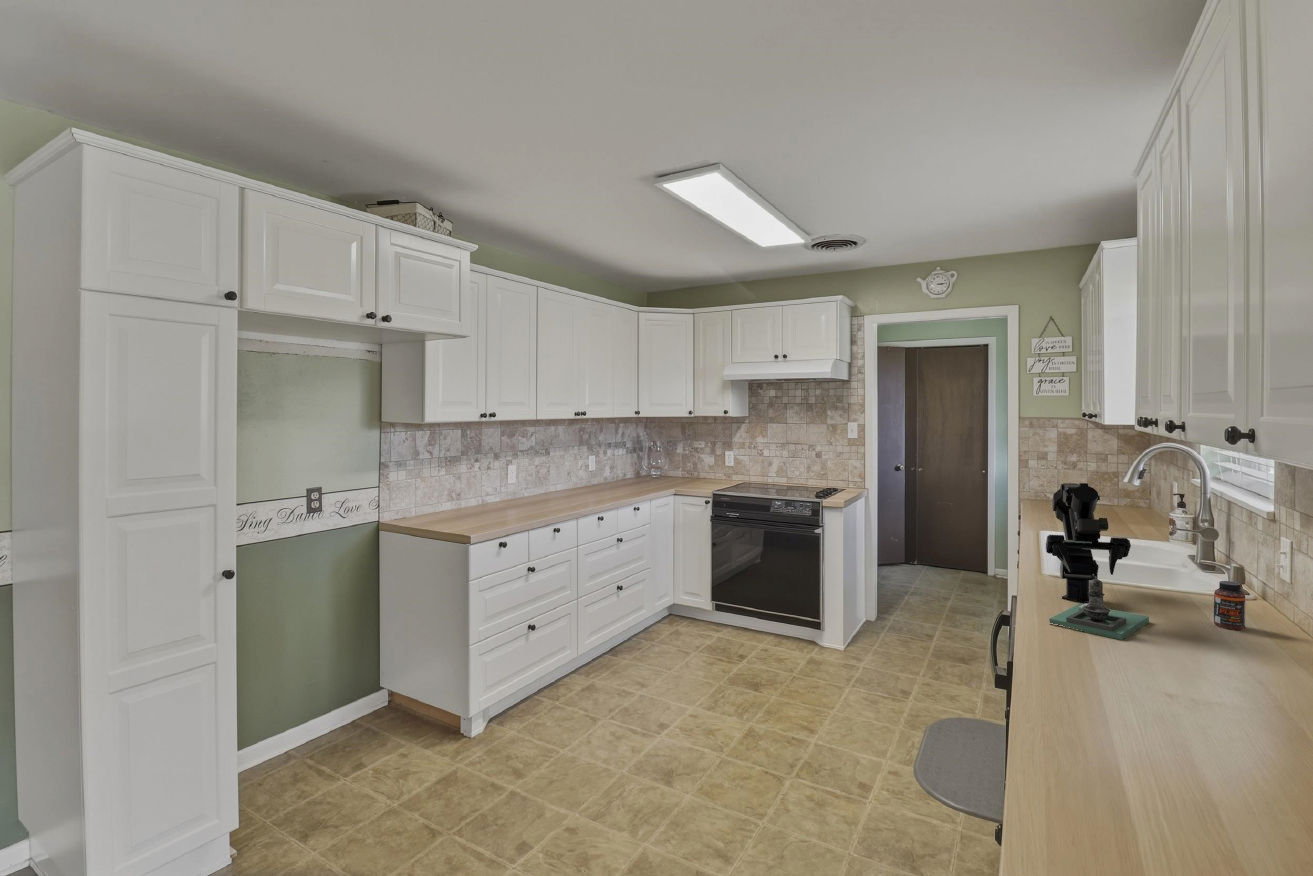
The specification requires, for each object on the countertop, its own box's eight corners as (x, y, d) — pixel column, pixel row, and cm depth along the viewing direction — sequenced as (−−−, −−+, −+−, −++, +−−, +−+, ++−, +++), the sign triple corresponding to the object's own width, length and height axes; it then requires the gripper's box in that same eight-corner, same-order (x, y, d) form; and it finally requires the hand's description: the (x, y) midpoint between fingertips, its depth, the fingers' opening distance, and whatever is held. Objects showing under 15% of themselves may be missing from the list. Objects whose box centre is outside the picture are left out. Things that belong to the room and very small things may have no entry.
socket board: (1079, 608, 180) (1079, 599, 180) (1149, 622, 168) (1148, 612, 168) (1049, 624, 168) (1049, 614, 168) (1121, 640, 156) (1121, 629, 155)
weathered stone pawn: (1108, 620, 165) (1108, 574, 165) (1111, 627, 160) (1111, 579, 160) (1081, 617, 168) (1081, 572, 168) (1083, 624, 163) (1083, 577, 163)
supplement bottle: (1217, 629, 161) (1217, 584, 161) (1210, 622, 167) (1210, 578, 166) (1249, 632, 159) (1248, 586, 158) (1240, 624, 164) (1240, 580, 163)
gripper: (1046, 505, 178) (1052, 553, 168) (1128, 507, 170) (1140, 558, 160) (1043, 528, 185) (1048, 576, 175) (1121, 532, 177) (1132, 581, 168)
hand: (1091, 572), depth 169 cm, fingers open, 9 cm apart
